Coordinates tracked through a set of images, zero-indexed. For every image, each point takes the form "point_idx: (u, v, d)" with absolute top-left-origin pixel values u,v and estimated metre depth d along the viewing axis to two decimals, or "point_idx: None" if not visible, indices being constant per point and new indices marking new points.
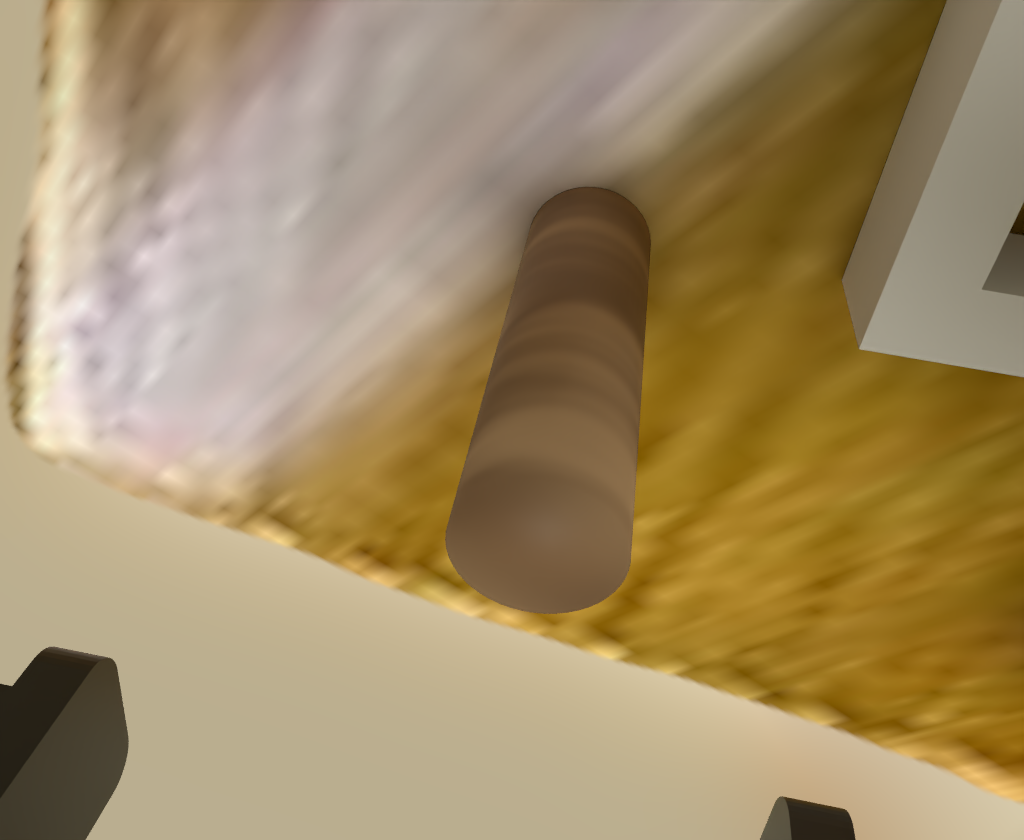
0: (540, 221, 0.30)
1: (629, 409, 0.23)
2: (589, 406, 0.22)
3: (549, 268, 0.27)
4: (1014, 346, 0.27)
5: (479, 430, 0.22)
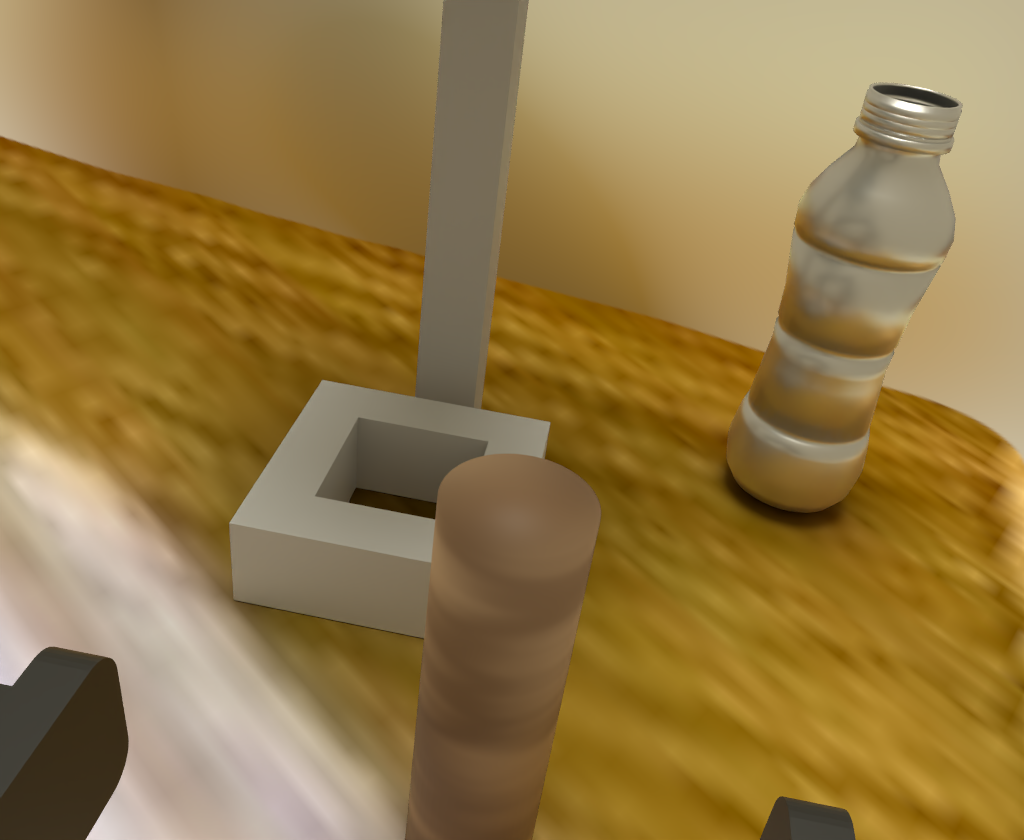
0: None
1: None
2: None
3: (417, 756, 0.28)
4: None
5: (458, 620, 0.23)
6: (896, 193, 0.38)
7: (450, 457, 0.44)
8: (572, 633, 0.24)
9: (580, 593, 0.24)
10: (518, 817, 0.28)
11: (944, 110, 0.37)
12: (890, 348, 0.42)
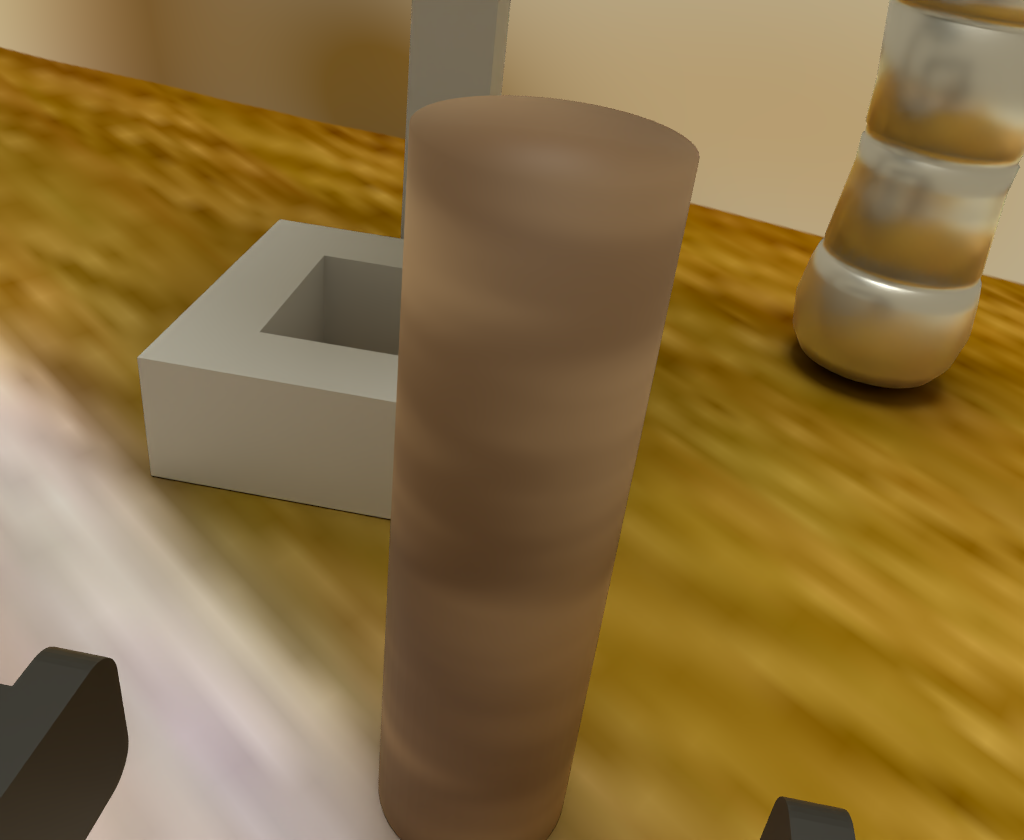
0: (403, 798, 0.19)
1: None
2: None
3: (390, 631, 0.17)
4: None
5: (450, 344, 0.13)
6: None
7: None
8: (646, 387, 0.14)
9: (663, 301, 0.14)
10: (551, 728, 0.17)
11: None
12: (1019, 153, 0.32)
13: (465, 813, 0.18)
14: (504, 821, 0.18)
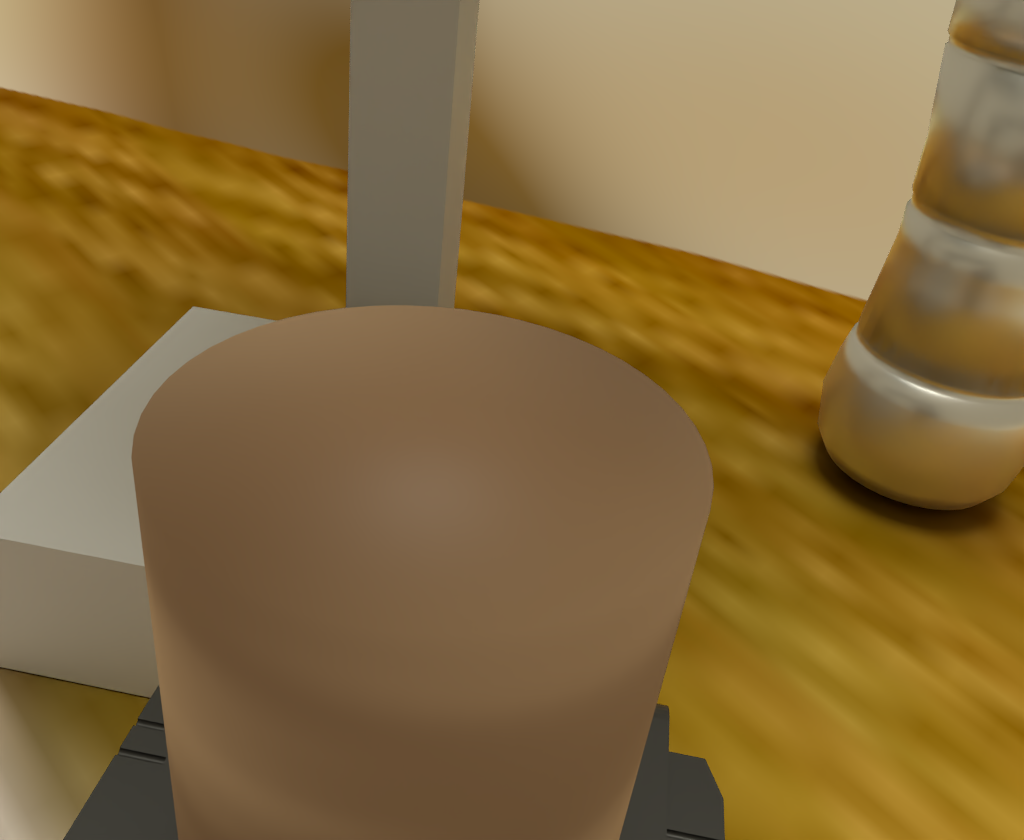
0: None
1: None
2: None
3: None
4: None
5: None
6: None
7: None
8: None
9: (641, 738, 0.07)
10: None
11: None
12: None
13: None
14: None
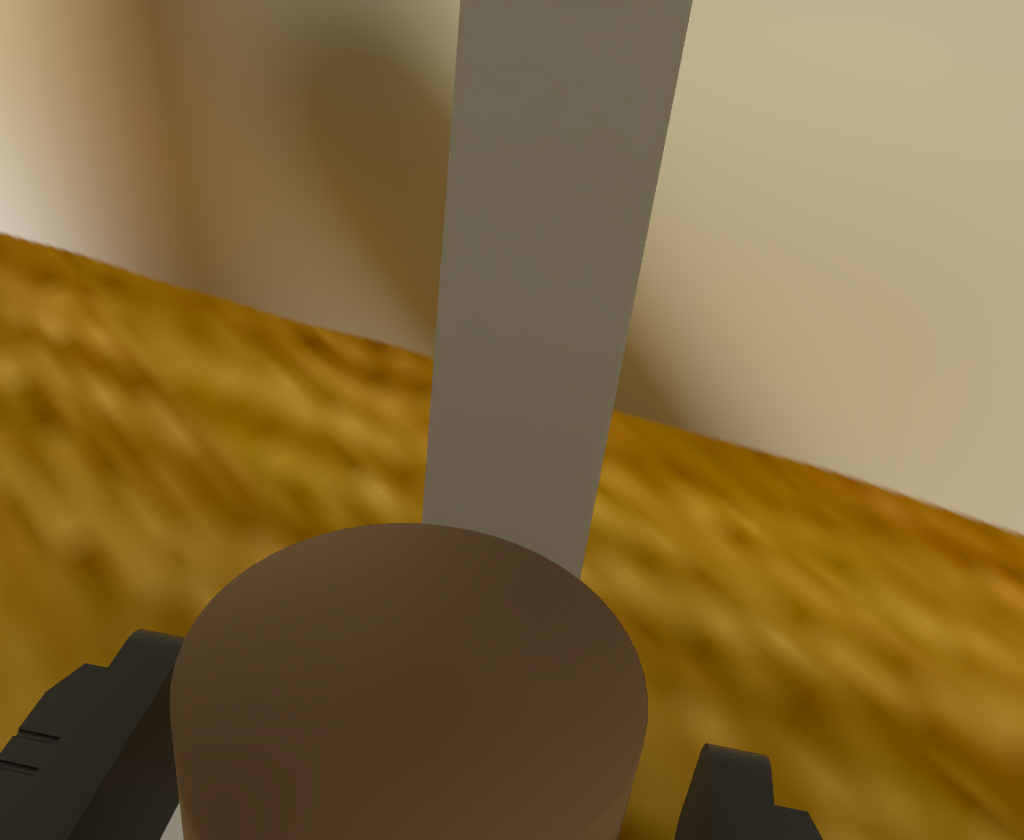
0: None
1: None
2: None
3: None
4: None
5: None
6: None
7: None
8: None
9: None
10: None
11: None
12: None
13: None
14: None
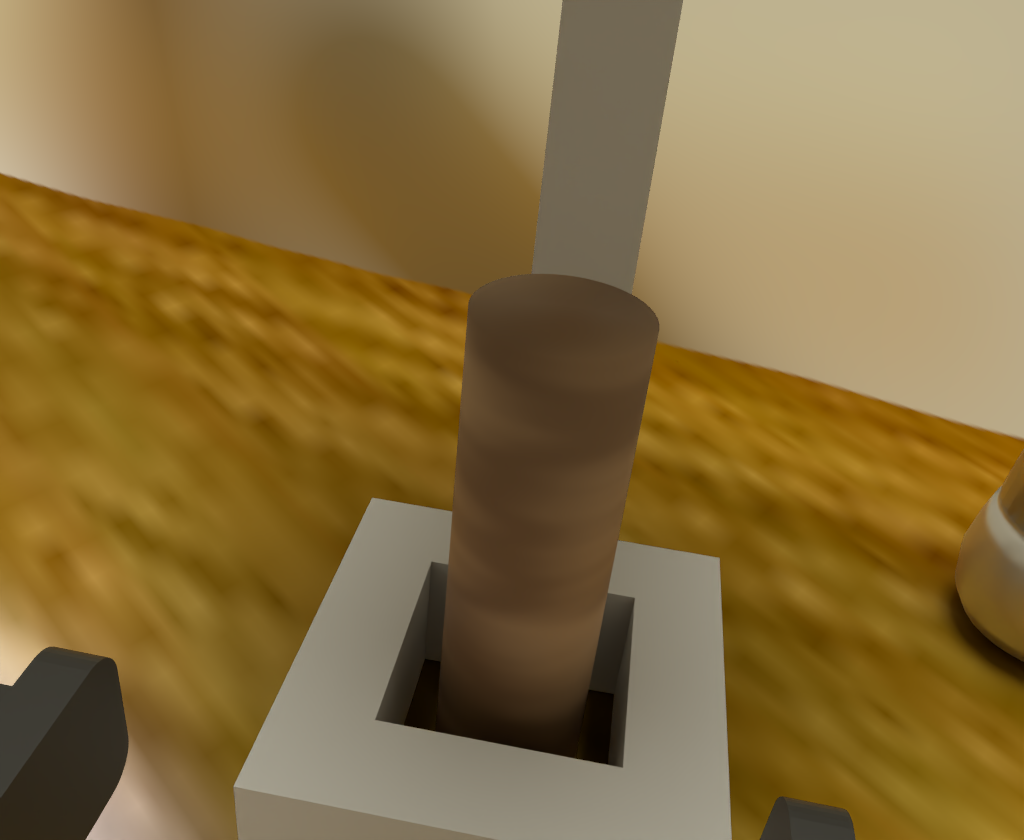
0: None
1: None
2: None
3: (447, 641, 0.24)
4: (689, 728, 0.24)
5: (496, 452, 0.20)
6: None
7: None
8: (626, 475, 0.21)
9: (636, 421, 0.20)
10: (563, 711, 0.24)
11: None
12: None
13: None
14: None
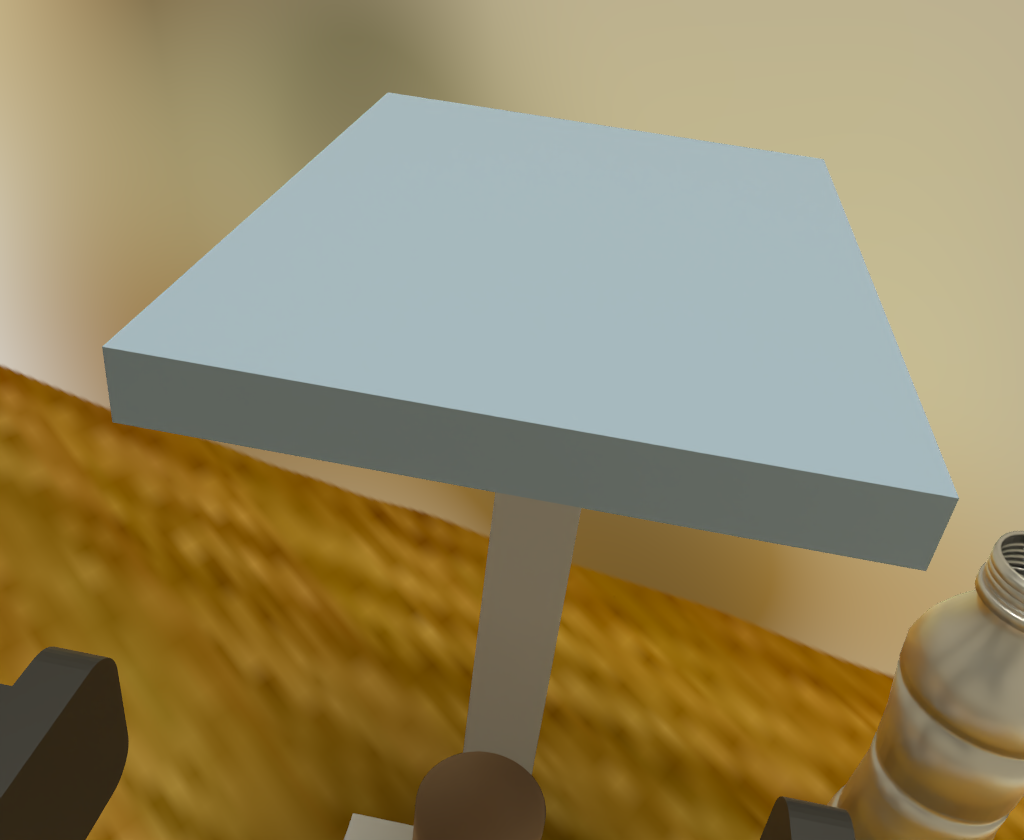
0: None
1: None
2: None
3: None
4: None
5: None
6: None
7: None
8: None
9: None
10: None
11: None
12: (1012, 808, 0.37)
13: None
14: None
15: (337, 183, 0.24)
